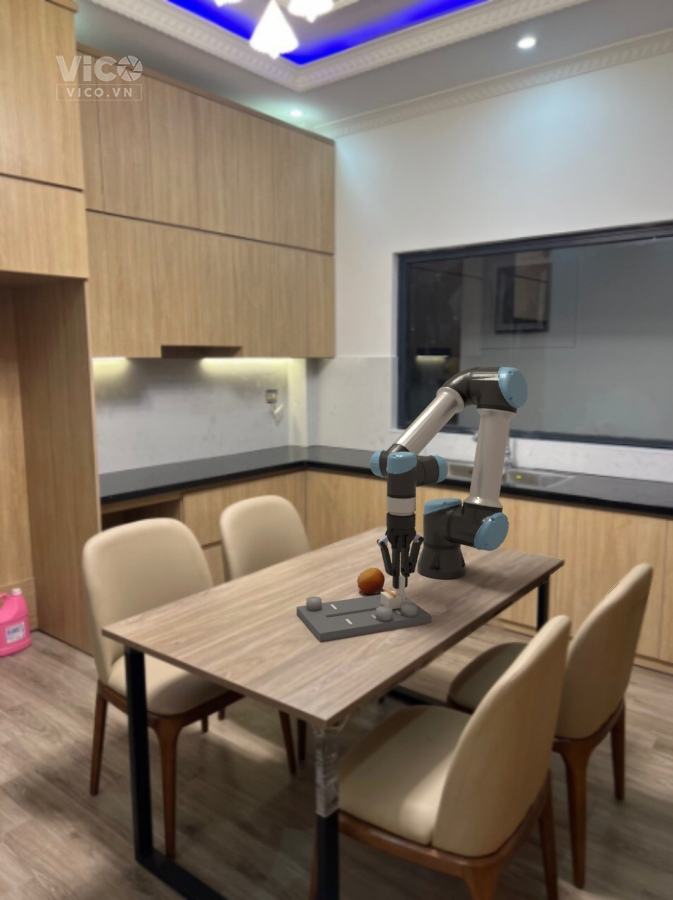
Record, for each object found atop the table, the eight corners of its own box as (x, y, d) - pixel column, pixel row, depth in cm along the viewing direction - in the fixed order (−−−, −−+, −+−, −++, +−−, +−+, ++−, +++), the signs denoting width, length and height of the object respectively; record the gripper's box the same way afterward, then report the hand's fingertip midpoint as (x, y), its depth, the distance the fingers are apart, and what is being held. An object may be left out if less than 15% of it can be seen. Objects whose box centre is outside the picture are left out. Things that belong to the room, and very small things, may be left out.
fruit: (389, 593, 181) (375, 568, 181) (365, 605, 183) (351, 581, 183) (392, 583, 189) (378, 559, 189) (369, 595, 191) (356, 572, 191)
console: (398, 598, 181) (399, 583, 180) (431, 622, 164) (431, 606, 163) (296, 614, 170) (296, 598, 169) (319, 641, 153) (319, 623, 153)
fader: (392, 601, 172) (392, 588, 172) (401, 607, 168) (401, 594, 167) (380, 603, 171) (380, 589, 171) (388, 609, 166) (389, 596, 166)
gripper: (416, 507, 173) (414, 591, 176) (372, 511, 168) (371, 598, 171) (430, 513, 166) (428, 601, 169) (384, 517, 161) (383, 608, 164)
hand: (399, 599), depth 170 cm, fingers closed
